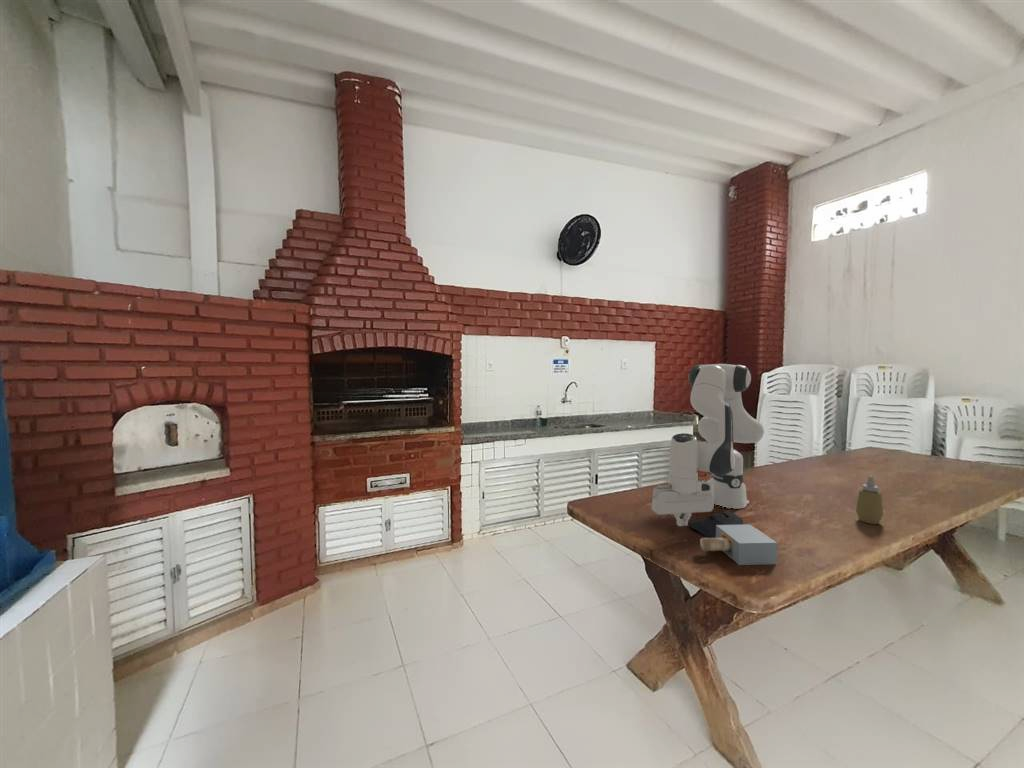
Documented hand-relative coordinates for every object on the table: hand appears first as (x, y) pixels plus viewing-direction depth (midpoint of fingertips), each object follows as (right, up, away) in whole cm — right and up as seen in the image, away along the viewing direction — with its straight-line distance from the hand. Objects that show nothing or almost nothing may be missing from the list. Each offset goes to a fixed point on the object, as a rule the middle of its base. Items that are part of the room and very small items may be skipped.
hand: (682, 525), depth 133 cm
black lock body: (+23, -9, +22) cm, 33 cm away
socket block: (+21, -10, +1) cm, 24 cm away
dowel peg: (+13, -8, +1) cm, 16 cm away
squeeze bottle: (+85, -8, +26) cm, 89 cm away
